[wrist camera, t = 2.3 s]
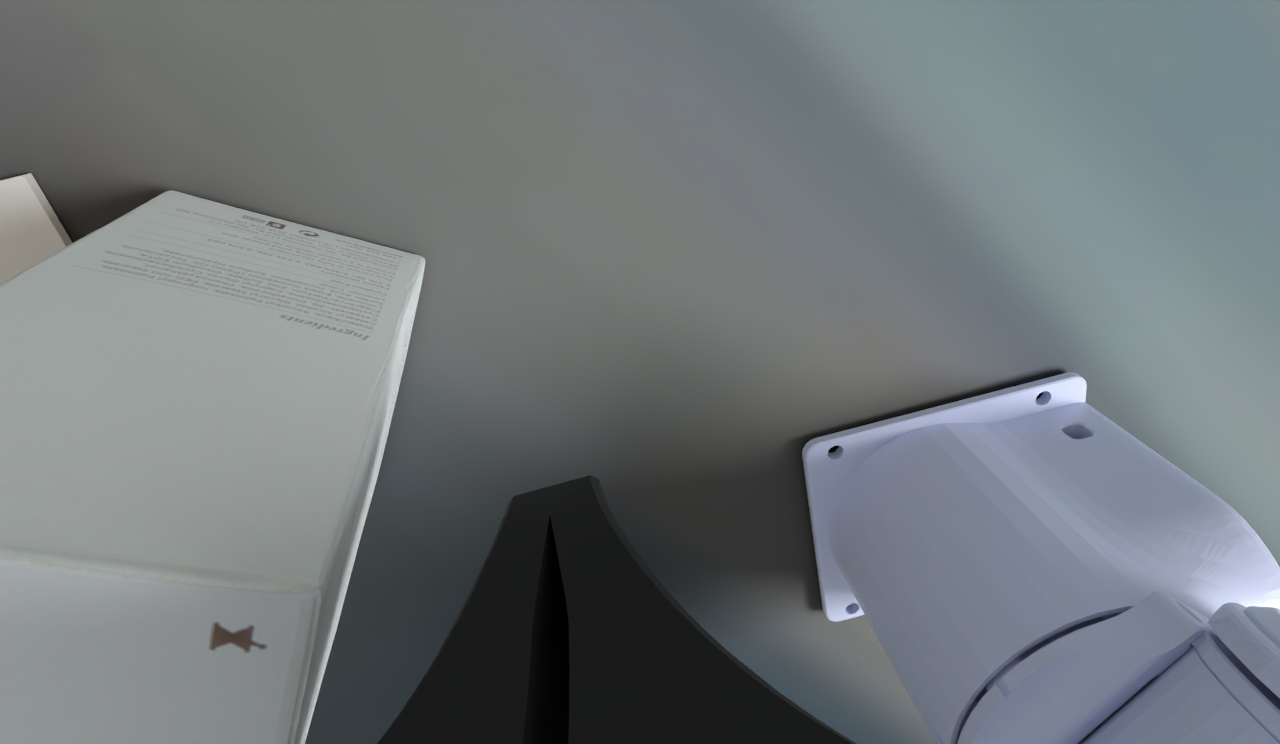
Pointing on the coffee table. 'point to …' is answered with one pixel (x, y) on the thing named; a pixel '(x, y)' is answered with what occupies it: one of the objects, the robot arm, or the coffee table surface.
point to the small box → (188, 470)
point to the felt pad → (26, 226)
